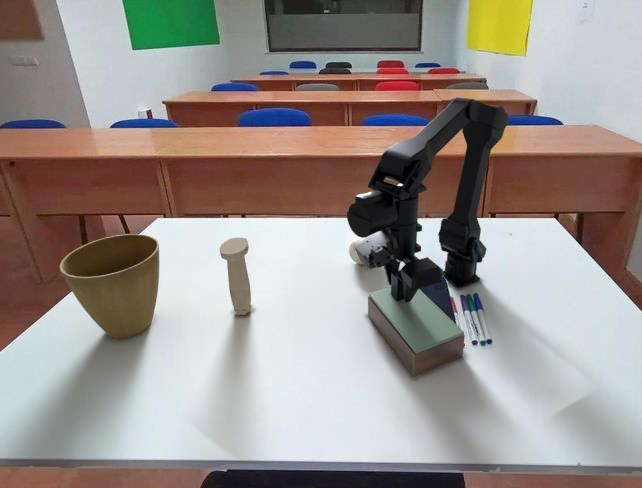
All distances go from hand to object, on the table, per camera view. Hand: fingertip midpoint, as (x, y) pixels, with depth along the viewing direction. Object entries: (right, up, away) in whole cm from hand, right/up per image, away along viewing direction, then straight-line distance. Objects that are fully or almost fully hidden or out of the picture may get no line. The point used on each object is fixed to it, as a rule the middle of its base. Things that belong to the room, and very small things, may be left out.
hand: (399, 292), depth 75 cm
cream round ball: (-7, +1, +22) cm, 23 cm away
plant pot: (-51, -7, 0) cm, 52 cm away
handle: (-31, -5, +4) cm, 32 cm away
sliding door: (+2, -3, -4) cm, 5 cm away
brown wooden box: (+2, -7, -2) cm, 8 cm away
